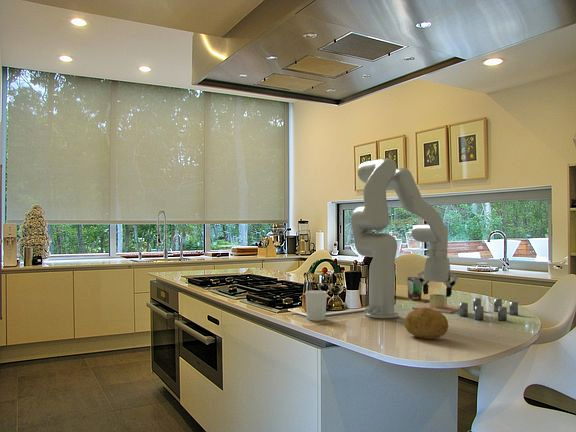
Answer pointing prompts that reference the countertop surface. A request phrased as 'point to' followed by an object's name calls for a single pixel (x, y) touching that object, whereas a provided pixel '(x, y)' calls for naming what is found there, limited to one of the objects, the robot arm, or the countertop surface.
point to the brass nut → (438, 301)
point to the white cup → (316, 305)
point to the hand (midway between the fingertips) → (436, 295)
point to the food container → (414, 288)
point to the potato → (426, 323)
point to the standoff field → (497, 308)
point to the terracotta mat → (446, 310)
